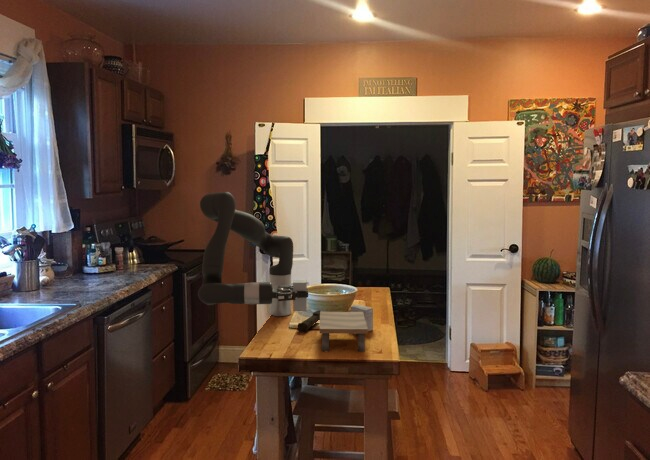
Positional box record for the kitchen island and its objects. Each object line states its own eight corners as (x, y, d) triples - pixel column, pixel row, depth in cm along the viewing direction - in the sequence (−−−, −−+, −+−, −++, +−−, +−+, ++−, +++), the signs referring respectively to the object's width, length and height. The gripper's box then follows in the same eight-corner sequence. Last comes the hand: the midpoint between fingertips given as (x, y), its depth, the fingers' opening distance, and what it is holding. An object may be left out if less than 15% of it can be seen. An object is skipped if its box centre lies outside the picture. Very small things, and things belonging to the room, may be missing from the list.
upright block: (293, 307, 184) (293, 279, 183) (306, 307, 184) (306, 279, 183) (293, 311, 180) (293, 282, 178) (306, 311, 180) (306, 282, 178)
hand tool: (306, 333, 195) (306, 321, 195) (297, 332, 197) (297, 320, 196) (326, 321, 213) (327, 310, 212) (317, 320, 214) (318, 308, 214)
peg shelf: (320, 332, 196) (320, 311, 195) (362, 332, 196) (363, 311, 195) (319, 352, 174) (319, 328, 173) (367, 352, 174) (367, 329, 173)
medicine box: (373, 330, 200) (373, 308, 199) (365, 332, 196) (365, 310, 196) (358, 325, 205) (358, 304, 204) (350, 328, 202) (350, 306, 201)
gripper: (257, 287, 172) (309, 286, 174) (258, 278, 186) (306, 277, 188) (257, 309, 173) (309, 308, 175) (259, 298, 187) (306, 297, 189)
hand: (307, 292), depth 181 cm, fingers closed on upright block, 4 cm apart
